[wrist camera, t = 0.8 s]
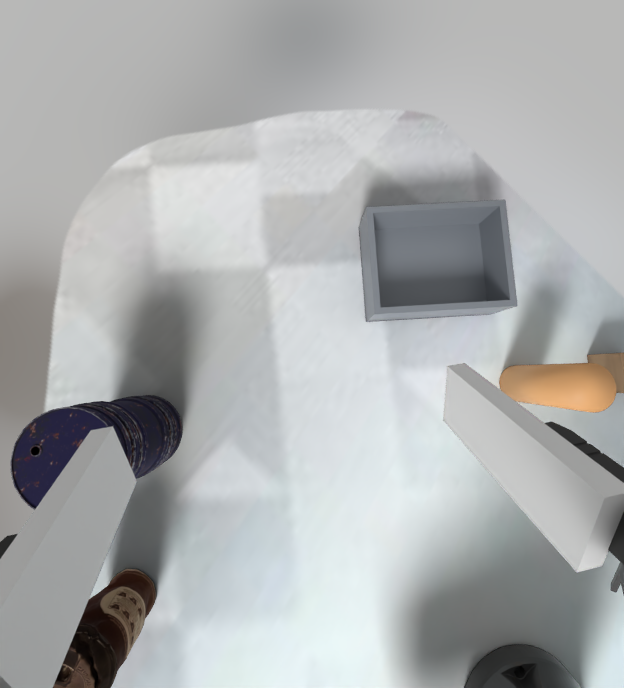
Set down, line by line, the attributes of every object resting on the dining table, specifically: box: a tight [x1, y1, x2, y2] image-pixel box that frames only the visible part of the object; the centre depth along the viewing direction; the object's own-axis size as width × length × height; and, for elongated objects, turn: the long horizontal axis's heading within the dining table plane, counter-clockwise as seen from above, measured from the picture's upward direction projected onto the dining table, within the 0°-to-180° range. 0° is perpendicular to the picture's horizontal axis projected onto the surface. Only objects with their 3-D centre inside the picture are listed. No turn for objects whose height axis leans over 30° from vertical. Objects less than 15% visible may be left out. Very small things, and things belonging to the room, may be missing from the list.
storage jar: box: [11, 395, 182, 510], centre depth 37 cm, size 10×10×15 cm
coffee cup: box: [53, 569, 156, 688], centre depth 36 cm, size 9×8×13 cm
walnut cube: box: [587, 353, 624, 393], centre depth 43 cm, size 5×5×5 cm
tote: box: [359, 200, 517, 322], centre depth 44 cm, size 18×14×6 cm
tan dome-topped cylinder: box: [499, 363, 616, 412], centre depth 39 cm, size 5×5×12 cm
